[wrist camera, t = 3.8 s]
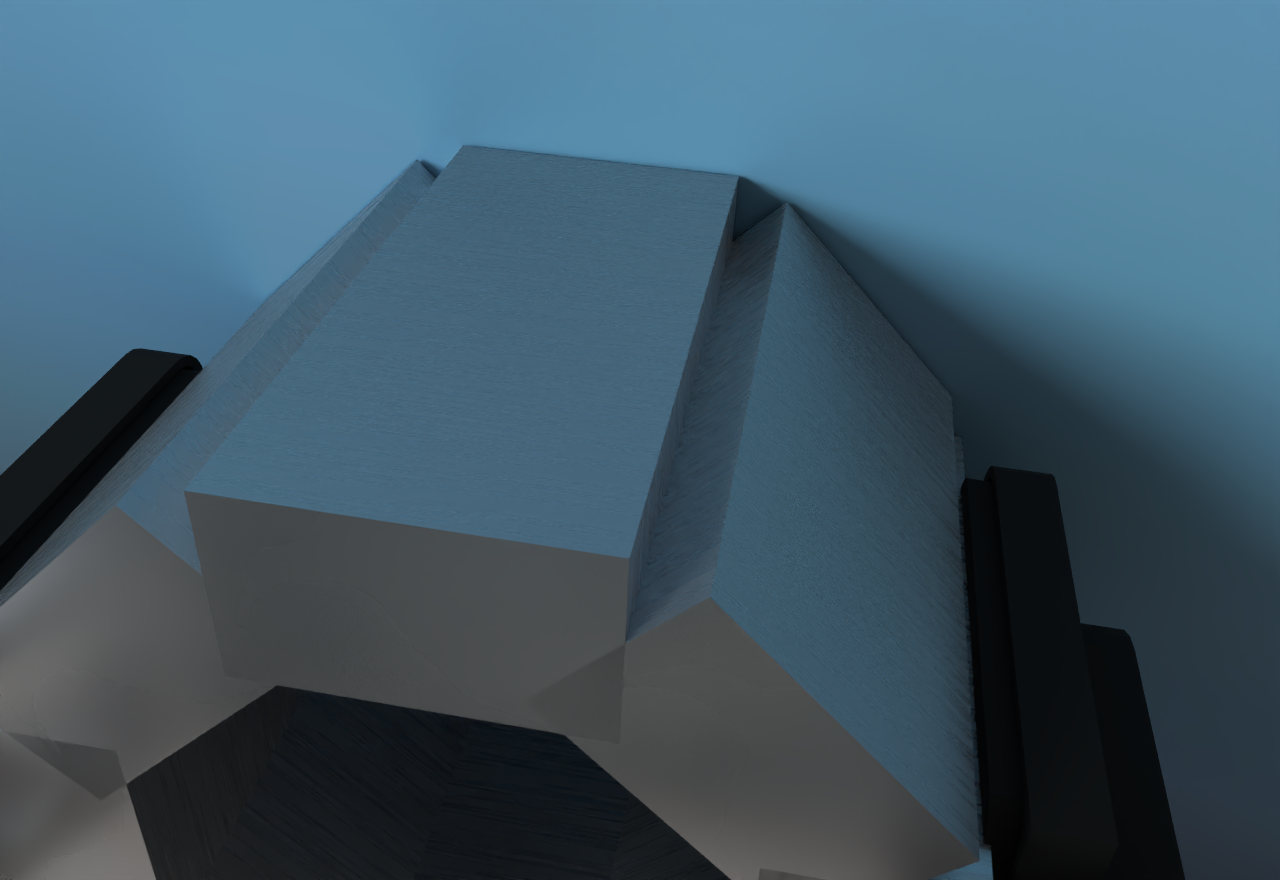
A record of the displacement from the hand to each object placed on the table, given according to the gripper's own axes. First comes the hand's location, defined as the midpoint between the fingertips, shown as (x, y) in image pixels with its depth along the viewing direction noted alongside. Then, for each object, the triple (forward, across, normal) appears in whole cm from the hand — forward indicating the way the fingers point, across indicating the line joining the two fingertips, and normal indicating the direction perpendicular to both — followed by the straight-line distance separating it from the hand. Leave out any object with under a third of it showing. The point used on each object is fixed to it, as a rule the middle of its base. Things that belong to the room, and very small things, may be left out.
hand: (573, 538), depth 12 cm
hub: (+1, 0, 0) cm, 1 cm away
